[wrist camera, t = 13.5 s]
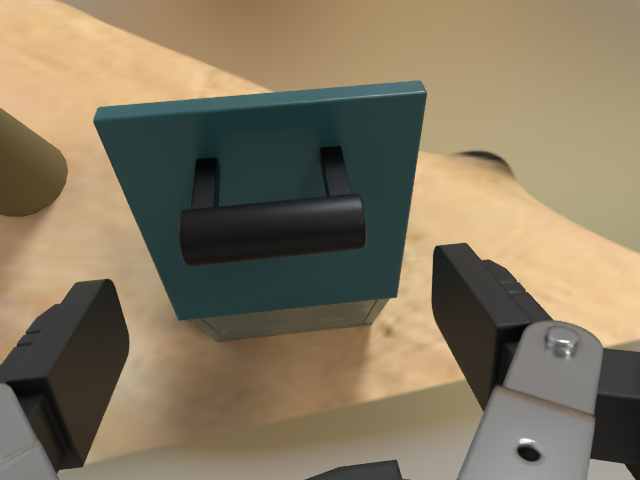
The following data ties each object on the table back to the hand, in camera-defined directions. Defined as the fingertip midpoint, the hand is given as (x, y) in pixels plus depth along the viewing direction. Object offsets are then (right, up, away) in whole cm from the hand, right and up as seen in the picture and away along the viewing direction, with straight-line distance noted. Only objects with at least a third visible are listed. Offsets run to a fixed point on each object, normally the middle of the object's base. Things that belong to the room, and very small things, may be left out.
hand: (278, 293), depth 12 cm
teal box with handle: (-1, +2, +7) cm, 7 cm away
